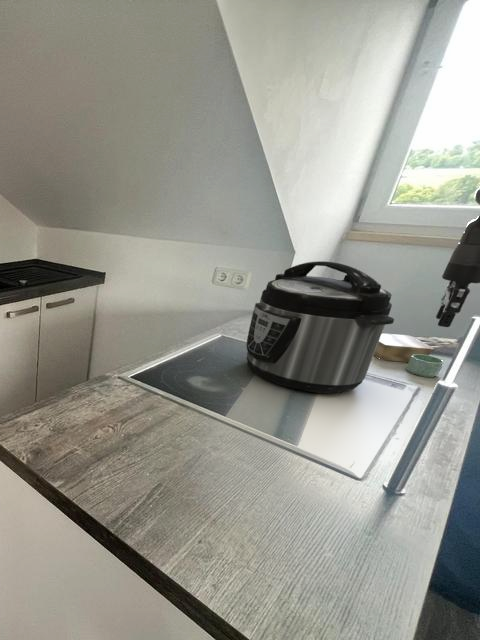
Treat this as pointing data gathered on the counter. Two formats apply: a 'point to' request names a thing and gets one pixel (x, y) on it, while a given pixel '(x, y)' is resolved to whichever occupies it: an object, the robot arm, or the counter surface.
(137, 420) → the counter surface
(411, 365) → the bowl
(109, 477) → the counter surface
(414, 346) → the riser
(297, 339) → the pressure cooker
